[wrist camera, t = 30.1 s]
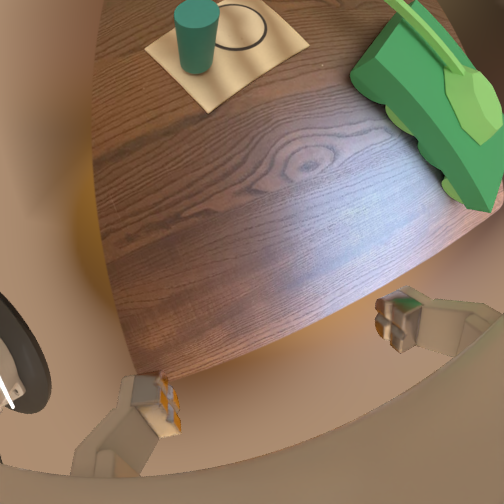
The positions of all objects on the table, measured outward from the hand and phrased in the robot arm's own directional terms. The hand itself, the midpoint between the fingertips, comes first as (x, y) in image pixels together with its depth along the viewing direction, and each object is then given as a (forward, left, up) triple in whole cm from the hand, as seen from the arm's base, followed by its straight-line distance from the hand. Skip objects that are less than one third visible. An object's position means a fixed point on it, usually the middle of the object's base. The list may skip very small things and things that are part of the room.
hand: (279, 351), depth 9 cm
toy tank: (+35, -1, -23) cm, 42 cm away
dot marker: (+11, +17, -22) cm, 30 cm away
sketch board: (+16, +18, -23) cm, 33 cm away
